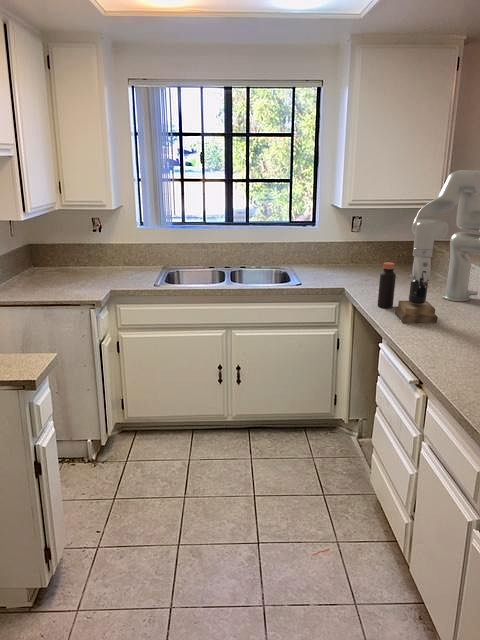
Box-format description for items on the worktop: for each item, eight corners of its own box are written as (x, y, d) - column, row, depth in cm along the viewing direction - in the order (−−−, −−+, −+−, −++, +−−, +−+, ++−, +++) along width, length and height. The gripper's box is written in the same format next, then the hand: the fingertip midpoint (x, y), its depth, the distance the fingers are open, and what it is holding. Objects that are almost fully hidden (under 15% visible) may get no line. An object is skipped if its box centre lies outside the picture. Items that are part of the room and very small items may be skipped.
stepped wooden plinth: (427, 313, 227) (428, 300, 225) (436, 323, 213) (438, 309, 211) (394, 313, 227) (395, 299, 225) (402, 323, 214) (403, 309, 212)
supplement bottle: (414, 304, 214) (417, 276, 210) (405, 300, 220) (408, 272, 217) (429, 303, 216) (432, 275, 212) (419, 298, 222) (422, 271, 218)
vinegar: (382, 309, 233) (386, 265, 227) (374, 304, 239) (378, 262, 233) (395, 307, 235) (400, 264, 228) (387, 303, 241) (391, 261, 235)
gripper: (438, 256, 203) (433, 300, 209) (425, 248, 220) (421, 289, 225) (419, 256, 204) (414, 300, 209) (407, 248, 220) (403, 289, 226)
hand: (418, 294), depth 217 cm, fingers closed on supplement bottle, 6 cm apart
